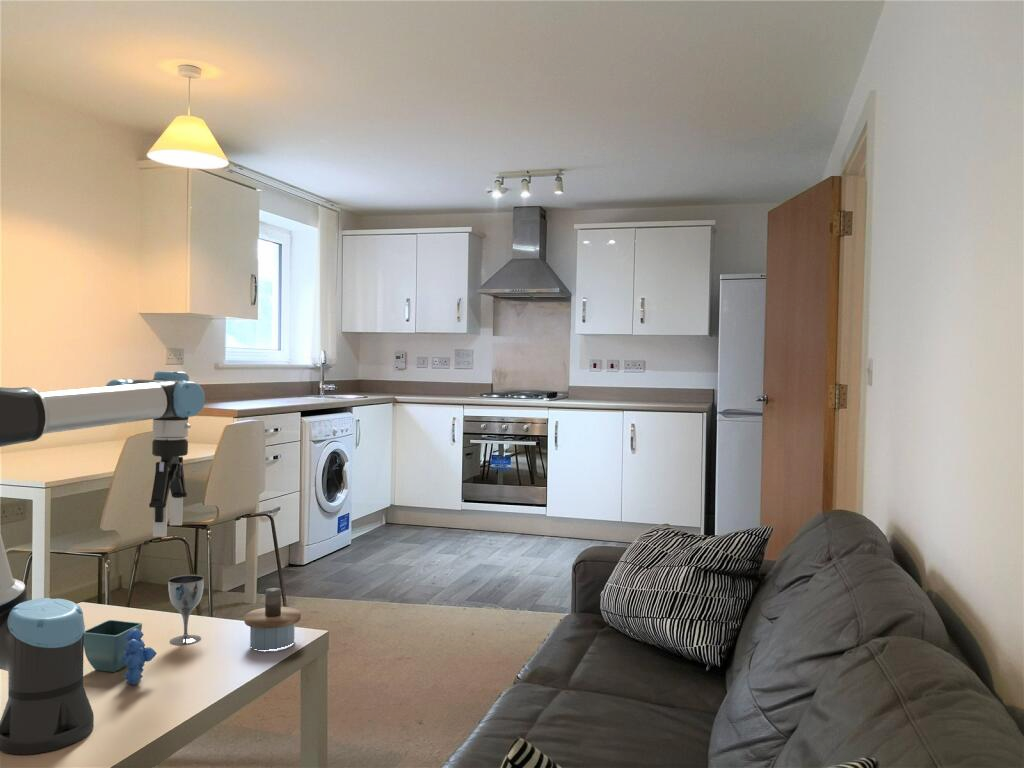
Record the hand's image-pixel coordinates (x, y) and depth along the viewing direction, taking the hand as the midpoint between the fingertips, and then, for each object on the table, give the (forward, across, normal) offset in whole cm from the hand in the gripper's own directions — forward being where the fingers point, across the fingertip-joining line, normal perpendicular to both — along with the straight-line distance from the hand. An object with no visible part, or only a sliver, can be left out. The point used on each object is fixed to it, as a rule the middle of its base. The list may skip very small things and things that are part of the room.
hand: (168, 530), depth 181 cm
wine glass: (+29, +10, -2) cm, 31 cm away
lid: (+22, +5, -23) cm, 33 cm away
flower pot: (+29, -6, +9) cm, 31 cm away
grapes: (+29, -16, +1) cm, 33 cm away
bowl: (+28, +5, -23) cm, 37 cm away
